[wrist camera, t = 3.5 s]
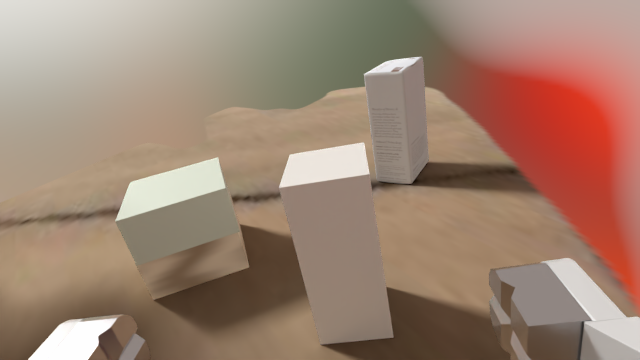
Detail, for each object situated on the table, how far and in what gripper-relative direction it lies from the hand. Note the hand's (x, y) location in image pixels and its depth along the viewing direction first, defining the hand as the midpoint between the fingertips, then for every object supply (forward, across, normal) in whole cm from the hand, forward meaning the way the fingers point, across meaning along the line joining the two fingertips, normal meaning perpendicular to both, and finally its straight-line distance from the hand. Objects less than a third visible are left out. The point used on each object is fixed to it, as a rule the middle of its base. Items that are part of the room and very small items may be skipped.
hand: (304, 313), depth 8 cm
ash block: (+22, +14, +12) cm, 29 cm away
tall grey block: (+13, 0, +12) cm, 18 cm away
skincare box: (+33, -6, +12) cm, 36 cm away
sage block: (+21, +14, +8) cm, 27 cm away
